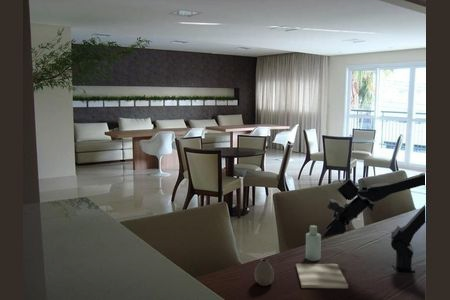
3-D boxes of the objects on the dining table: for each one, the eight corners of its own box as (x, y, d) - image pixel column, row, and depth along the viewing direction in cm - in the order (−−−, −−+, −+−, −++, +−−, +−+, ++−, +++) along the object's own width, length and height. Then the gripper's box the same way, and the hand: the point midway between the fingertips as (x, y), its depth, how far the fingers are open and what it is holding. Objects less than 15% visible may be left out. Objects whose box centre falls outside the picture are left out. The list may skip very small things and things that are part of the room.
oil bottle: (321, 260, 164) (321, 228, 162) (306, 260, 164) (307, 228, 162) (319, 255, 170) (319, 224, 168) (304, 255, 170) (305, 224, 168)
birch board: (348, 288, 140) (348, 285, 139) (301, 287, 141) (301, 284, 140) (337, 266, 157) (337, 264, 157) (296, 266, 158) (296, 263, 158)
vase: (277, 283, 145) (277, 259, 144) (266, 289, 140) (265, 265, 139) (262, 277, 149) (262, 255, 148) (250, 284, 144) (250, 260, 143)
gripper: (341, 188, 168) (314, 211, 174) (337, 198, 151) (307, 224, 156) (361, 208, 166) (333, 231, 172) (359, 221, 149) (328, 246, 154)
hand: (325, 232), depth 164 cm, fingers open, 9 cm apart
